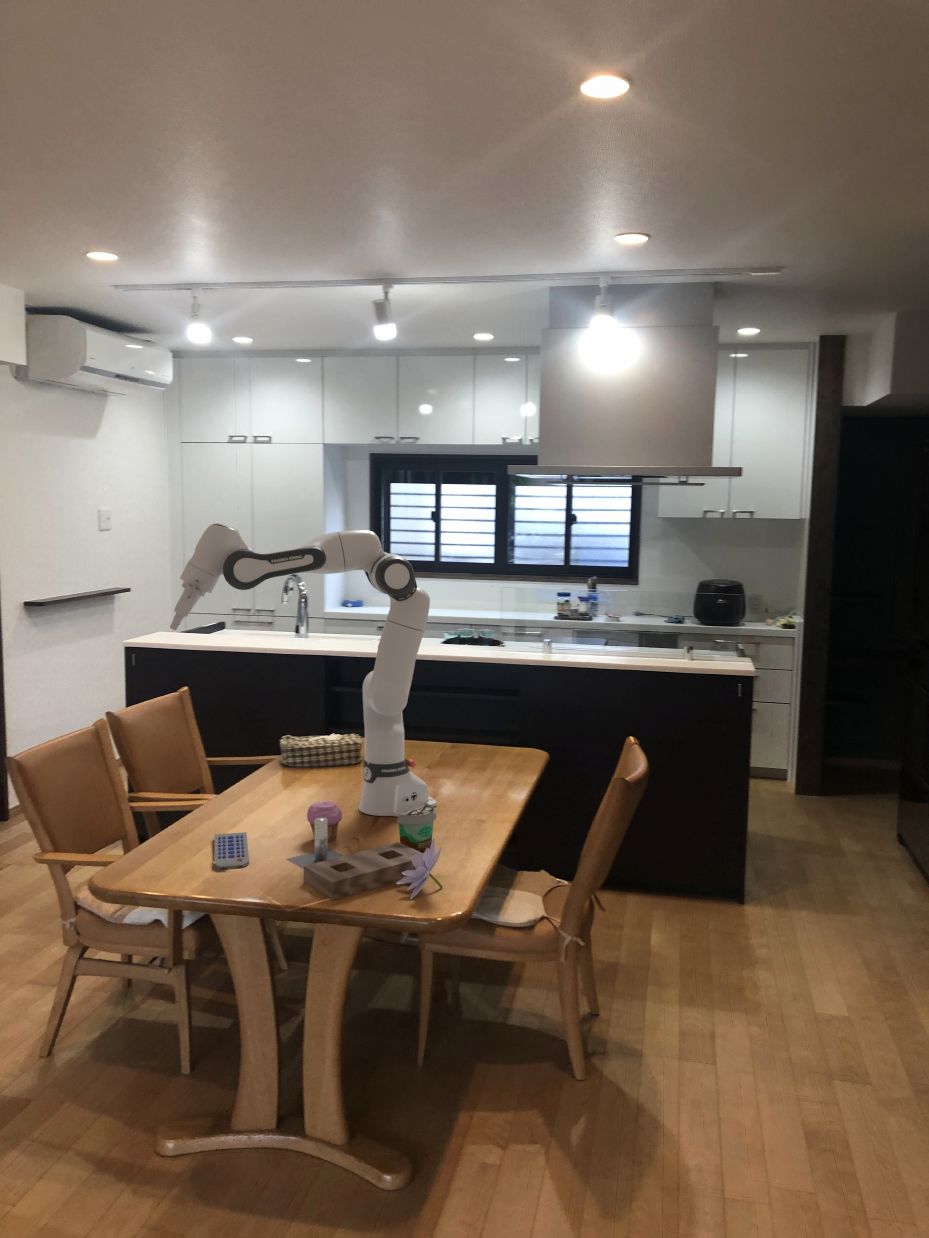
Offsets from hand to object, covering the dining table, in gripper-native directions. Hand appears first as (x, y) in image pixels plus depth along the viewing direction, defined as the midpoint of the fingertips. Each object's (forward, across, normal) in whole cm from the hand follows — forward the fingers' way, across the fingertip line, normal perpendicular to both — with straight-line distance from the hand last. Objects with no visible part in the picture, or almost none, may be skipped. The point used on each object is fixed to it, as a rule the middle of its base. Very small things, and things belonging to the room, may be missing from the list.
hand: (174, 627), depth 249 cm
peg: (+31, -36, -55) cm, 73 cm away
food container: (+20, -33, -78) cm, 87 cm away
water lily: (+22, -57, -73) cm, 95 cm away
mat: (+31, -36, -55) cm, 73 cm away
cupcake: (+30, -21, -57) cm, 68 cm away
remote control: (+41, -26, -37) cm, 61 cm away
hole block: (+27, -48, -64) cm, 84 cm away
